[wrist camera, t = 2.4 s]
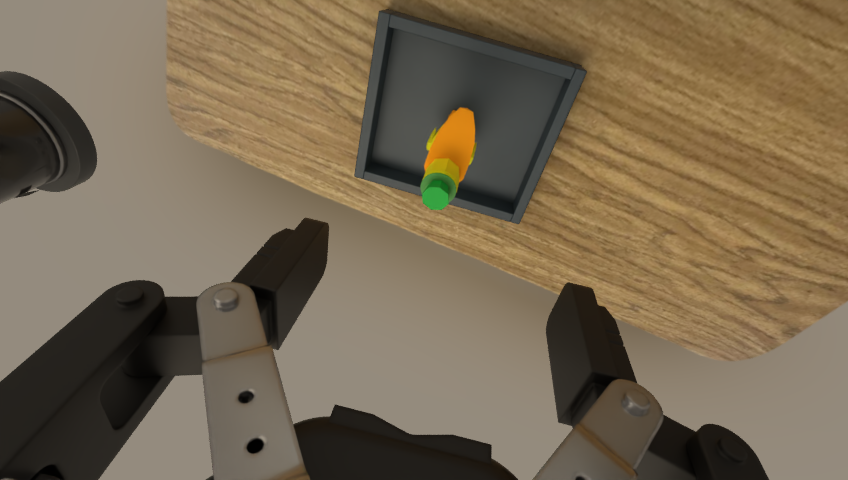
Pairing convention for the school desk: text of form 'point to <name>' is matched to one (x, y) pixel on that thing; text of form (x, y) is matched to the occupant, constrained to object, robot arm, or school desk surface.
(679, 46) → the school desk surface
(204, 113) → the school desk surface
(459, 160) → the toy figure
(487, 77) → the tray
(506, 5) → the school desk surface
